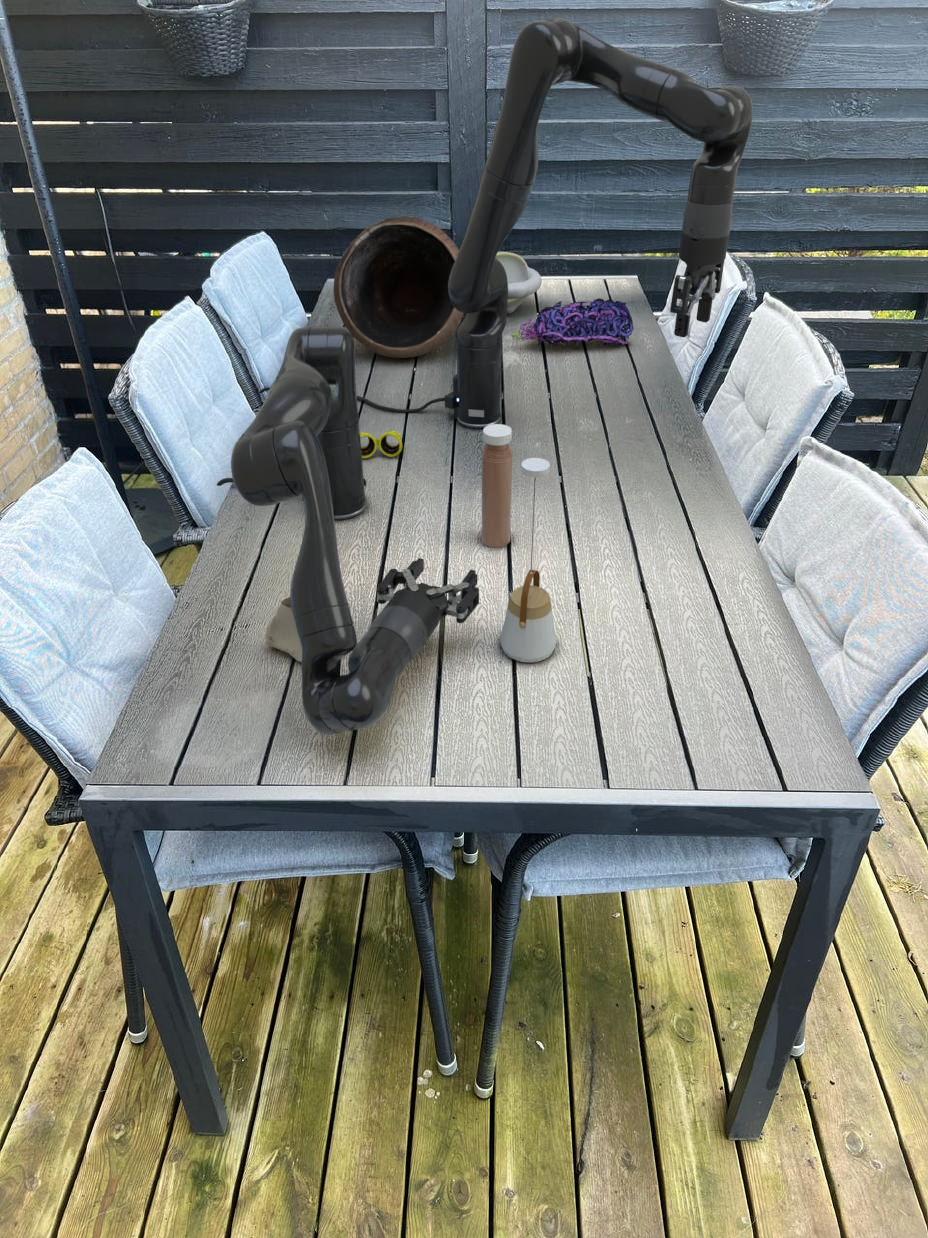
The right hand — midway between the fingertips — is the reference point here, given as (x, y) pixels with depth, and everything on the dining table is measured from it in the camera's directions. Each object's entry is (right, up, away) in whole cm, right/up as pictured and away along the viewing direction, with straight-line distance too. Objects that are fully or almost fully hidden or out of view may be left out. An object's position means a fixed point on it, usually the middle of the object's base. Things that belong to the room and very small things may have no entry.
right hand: (691, 328), depth 160 cm
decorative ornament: (-13, +18, +72) cm, 75 cm away
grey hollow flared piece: (-64, -55, -22) cm, 87 cm away
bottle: (-34, -36, +1) cm, 49 cm away
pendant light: (-30, -54, -22) cm, 65 cm away
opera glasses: (-56, -17, +27) cm, 65 cm away
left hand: (-42, -42, -19) cm, 62 cm away
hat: (-29, +34, +93) cm, 104 cm away
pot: (-53, +20, +75) cm, 94 cm away
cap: (-34, -20, -11) cm, 41 cm away
